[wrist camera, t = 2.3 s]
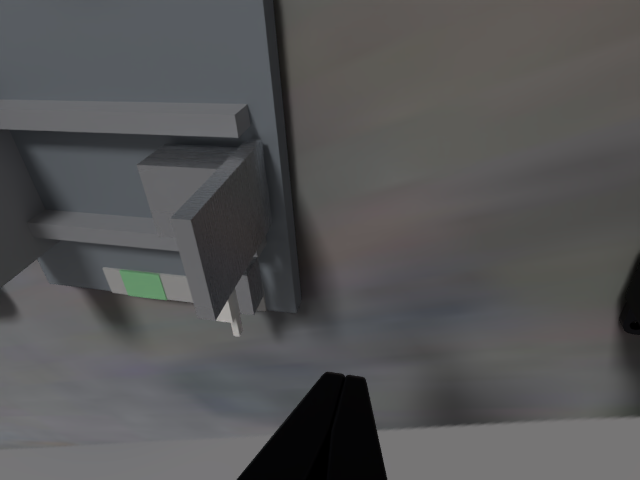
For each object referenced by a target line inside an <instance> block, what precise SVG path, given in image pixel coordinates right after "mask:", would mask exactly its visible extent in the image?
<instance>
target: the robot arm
mask: <svg viewBox="0 0 640 480" xmlns="http://www.w3.org/2000/svg"><path fill="white" fill-rule="evenodd" d="M625 298H626V300H627V302H626V304H625V307H624V309H623V311H622V313H621V316H620V320H619V321H620V323H621V325H622V327H623V329H624V331H626V332H627V333H631V334H637V335H640V263H639V265H638V268H637V270H636V272H635V274H634V277H633V279H632V281H631V283H630V286H629V288H628V290H627V293H626V295H625ZM634 321H638V322H636V323H632V322H634ZM237 480H387V477H386V471H385V467H384V462H383V458H382V453H381V448H380V443H379V439H378V434H377V429H376V425H375V420H374V415H373V411H372V406H371V401H370V397H369V392H368V387H367V383H366V379H365V378H364V377H360V376H353V375H347V376H346V377H345V376H344V375H343V374H340V373H334V372H326V373H324V374H323V375H322V376H321V377H320V379H319V380H318V381H317V382H316V384H315V385H314V386H313V387H312V388H311V390H310V391H309V392H308V393H307V395H306V396H305V397H304V398H303V399H302V401H301V402H300V403H299V404H298V405H297V407H296V408H295V409H294V410H293V412H292V413H291V414H290V415H289V416H288V418H287V419H286V420H285V421H284V423H283V424H282V425H281V426H280V427H279V429H278V430H277V431H276V432H275V433H274V435H273V436H272V437H271V438H270V440H269V441H268V442H267V443H266V444H265V446H264V447H263V448H262V449H261V451H260V452H259V453H258V454H257V455H256V457H255V458H254V459H253V461H252V462H251V463H250V464H249V465H248V466H247V468H246V469H245V470H244V471H243V472H242V474H241V475H240V476H239V478H238V479H237Z"/></svg>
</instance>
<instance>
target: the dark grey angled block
mask: <svg viewBox="0 0 640 480" xmlns="http://www.w3.org/2000/svg"><path fill="white" fill-rule="evenodd" d="M137 168H138V171H139V174H140V178H141V181H142V184H143V188H144V191H145V194H146V197H147V201H148V204H149V207H150V211H151V214H152V217H153V221H154V224H155V227H156V230H157V234H158V236H161V237H172V238H175V239H176V242H177V246H178V249H179V253H180V256H181V260H182V264H183V267H184V271H185V274H186V278H187V282H188V285H189V289H190V292H191V296H192V300H193V303H194V307H195V310H196V314H197V318H199V319H206V320H214V321H216V319H217V318H218V316H219V314H220V313H221V311H222V309H223V307H224V306H225V304H226V302H227V301H228V299H229V297H230V296H231V294H232V292H233V290H234V289H235V290H236V295H237V300H238V305H239V310H240V313H243V314H251V315H254V314H255V312H256V310H257V308H258V306H259V304H260V302H261V300H262V298H263V296H264V294H263V287H262V281H261V275H260V268H259V262H258V257H253V256H254V255H255V253H256V251H257V250H258V248H259V246H260V244H261V243H262V241H263V239H264V238H265V236H266V234H267V232H268V231H269V229H270V227H271V226H272V224H273V222H272V214H271V207H270V199H269V191H268V183H267V175H266V167H265V160H264V152H263V144H262V140H256V139H246V140H245V141H244V142H243V143H242V144H241V145H240V146H239V147H238V146H213V145H188V144H164V145H163V146H161V147H160V148H159V149H157V150H156V151H155V152H153V153H152V154H151V155H149V156H148V157H147V158H145V159H144V160H142V161H141V162H140V163H138V164H137Z"/></svg>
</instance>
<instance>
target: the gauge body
mask: <svg viewBox="0 0 640 480" xmlns="http://www.w3.org/2000/svg"><path fill="white" fill-rule="evenodd" d="M246 139H256V140H262V144H263V152H264V160H265V167H266V175H267V183H268V191H269V199H270V207H271V214H272V222H273V224H272V226H271V227H270V229H269V231H268V232H267V234H266V236H265V238H264V239H263V241H262V243H261V244H260V246H259V248H258V250H257V251H256V253H255V255H254V256H253V257H258V262H259V268H260V275H261V281H262V287H263V294H264V296H263V298H262V300H261V302H260V304H259V306H258V308H257V311H265V312H266V310H272V311H280V312H288V313H297V310H298V308H299V305H300V303H301V300H302V298H301V288H300V278H299V267H298V257H297V246H296V236H295V225H294V215H293V204H292V194H291V184H290V173H289V163H288V152H287V142H286V131H285V121H284V110H283V100H282V90H281V79H280V69H279V58H278V48H277V37H276V27H275V17H274V6H273V0H0V288H1V287H2V286H4V285H5V284H6V283H7V282H9V281H10V280H11V279H12V278H14V277H15V276H16V275H17V274H19V273H20V272H21V271H23V270H24V269H25V268H26V267H28V266H29V265H30V264H31V263H33V262H34V261H35V260H36V259H37V260H38V262H39V264H40V266H41V268H42V270H43V272H44V274H45V276H46V278H47V280H48V282H49V283H50V284H58V285H66V286H74V287H83V288H91V289H99V290H107V291H112V293H118V294H127V295H128V296H136V297H144V298H152V299H160V300H176V301H184V302H192V303H193V300H192V296H191V292H190V289H189V285H188V282H187V278H186V274H185V271H184V267H183V264H182V260H181V256H180V253H179V249H178V246H177V242H176V239H175V238H172V237H161V236H158V234H157V230H156V227H155V224H154V221H153V217H152V214H151V211H150V207H149V204H148V201H147V197H146V194H145V191H144V188H143V184H142V181H141V178H140V174H139V171H138V168H137V164H138V163H140V162H141V161H142V160H144V159H145V158H147V157H148V156H149V155H151V154H152V153H153V152H155V151H156V150H157V149H159V148H160V147H161V146H163V145H164V144H188V145H213V146H238V147H239V146H240V145H241V144H242V143H243V142H244V141H245V140H246Z"/></svg>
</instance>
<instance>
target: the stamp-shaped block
mask: <svg viewBox="0 0 640 480" xmlns="http://www.w3.org/2000/svg"><path fill="white" fill-rule="evenodd" d="M239 311H240V310H239V305H238V300H237V295H236V290H235V289H234V290H233V292H232V294H231V296H230V297H229V299H228V301H227V302H226V304H225V306H224V307H223V309H222V311H221V313H220V314H219V316H218V318H217V319H216V321H222V322H230V323H231V326H232V330H233V335H234V336H239V337H240V335H241V333H242V331H243V328H242V323H241V318H240V313H239Z"/></svg>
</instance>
